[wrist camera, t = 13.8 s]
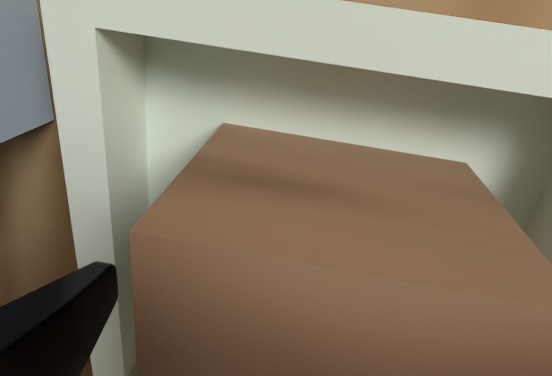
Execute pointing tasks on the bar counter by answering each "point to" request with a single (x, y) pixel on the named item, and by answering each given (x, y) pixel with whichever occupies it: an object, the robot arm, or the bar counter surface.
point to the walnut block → (334, 266)
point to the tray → (282, 105)
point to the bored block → (22, 70)
